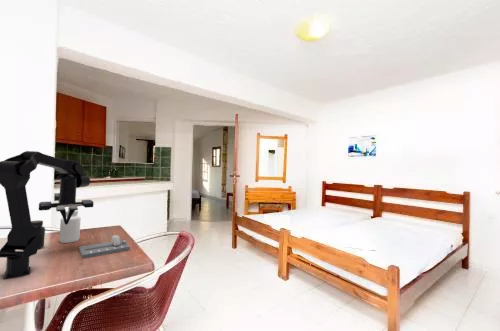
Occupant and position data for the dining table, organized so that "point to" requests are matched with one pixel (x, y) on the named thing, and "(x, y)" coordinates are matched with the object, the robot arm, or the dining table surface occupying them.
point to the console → (102, 249)
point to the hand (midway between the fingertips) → (66, 224)
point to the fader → (115, 240)
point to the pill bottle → (70, 228)
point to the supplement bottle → (40, 223)
